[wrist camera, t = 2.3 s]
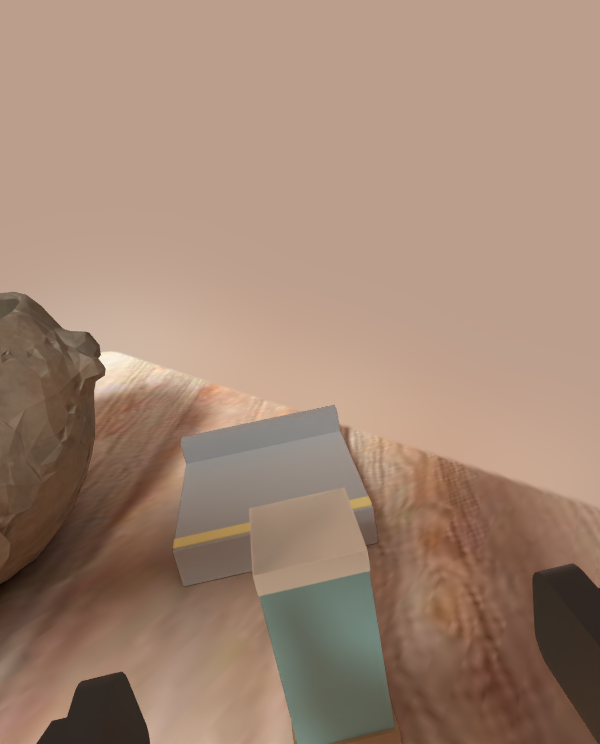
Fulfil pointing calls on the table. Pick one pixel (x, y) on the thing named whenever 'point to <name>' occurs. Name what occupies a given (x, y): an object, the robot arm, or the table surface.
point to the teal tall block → (322, 619)
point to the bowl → (41, 426)
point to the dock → (257, 486)
